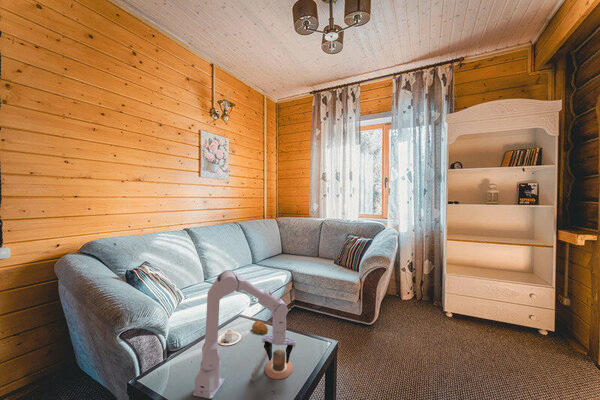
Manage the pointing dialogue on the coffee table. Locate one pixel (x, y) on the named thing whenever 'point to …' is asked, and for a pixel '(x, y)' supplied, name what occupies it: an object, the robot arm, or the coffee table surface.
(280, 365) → the walnut cylinder
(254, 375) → the acrylic wall
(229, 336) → the candle holder
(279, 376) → the resting plate
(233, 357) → the coffee table surface
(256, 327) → the pastry
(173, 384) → the coffee table surface
